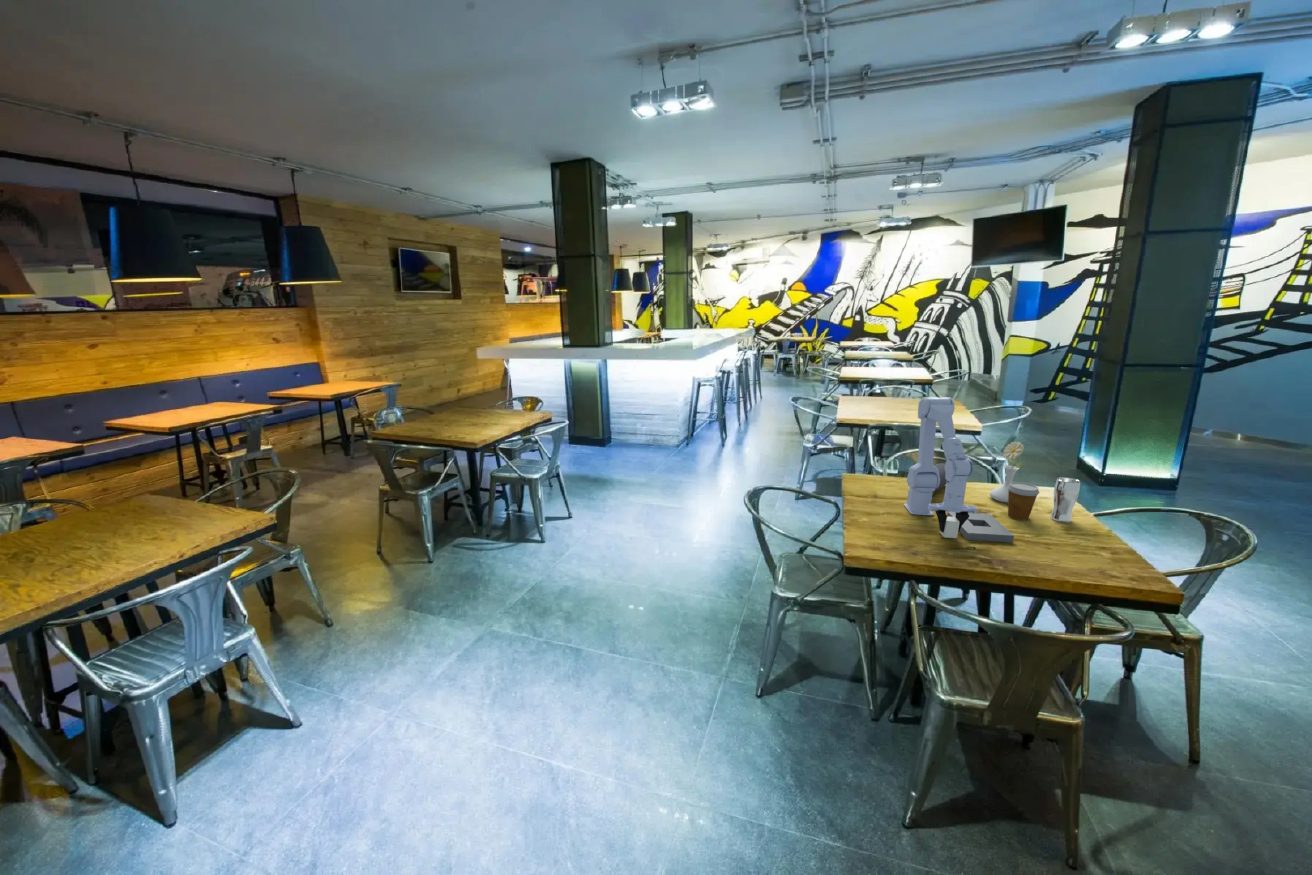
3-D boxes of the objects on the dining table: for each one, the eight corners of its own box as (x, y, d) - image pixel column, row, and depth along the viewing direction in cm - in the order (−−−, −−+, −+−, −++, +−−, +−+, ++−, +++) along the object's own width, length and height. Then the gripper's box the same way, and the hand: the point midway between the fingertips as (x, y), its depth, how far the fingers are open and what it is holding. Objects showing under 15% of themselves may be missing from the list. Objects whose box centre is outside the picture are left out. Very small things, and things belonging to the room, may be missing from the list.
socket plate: (946, 517, 189) (947, 511, 188) (988, 520, 187) (989, 513, 186) (966, 539, 172) (967, 532, 171) (1012, 542, 170) (1014, 535, 169)
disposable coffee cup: (1040, 522, 185) (1046, 490, 182) (1013, 522, 185) (1019, 490, 182) (1022, 511, 194) (1027, 481, 191) (996, 511, 194) (1002, 481, 191)
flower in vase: (985, 493, 212) (995, 434, 206) (1017, 496, 209) (1028, 437, 202) (994, 505, 200) (1005, 443, 194) (1028, 508, 197) (1041, 445, 190)
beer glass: (1069, 517, 189) (1078, 478, 185) (1075, 524, 183) (1084, 484, 179) (1046, 514, 192) (1054, 475, 188) (1051, 521, 186) (1059, 481, 182)
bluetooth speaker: (929, 481, 227) (933, 459, 224) (953, 486, 220) (956, 464, 218) (909, 494, 212) (912, 471, 209) (933, 500, 205) (936, 477, 203)
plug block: (939, 532, 177) (942, 516, 175) (952, 533, 176) (954, 516, 175) (944, 537, 173) (946, 520, 171) (956, 538, 172) (959, 521, 171)
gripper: (935, 496, 168) (929, 535, 172) (983, 499, 166) (977, 538, 169) (928, 489, 175) (922, 526, 178) (974, 491, 172) (968, 528, 176)
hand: (948, 531), depth 174 cm, fingers closed on plug block, 4 cm apart
